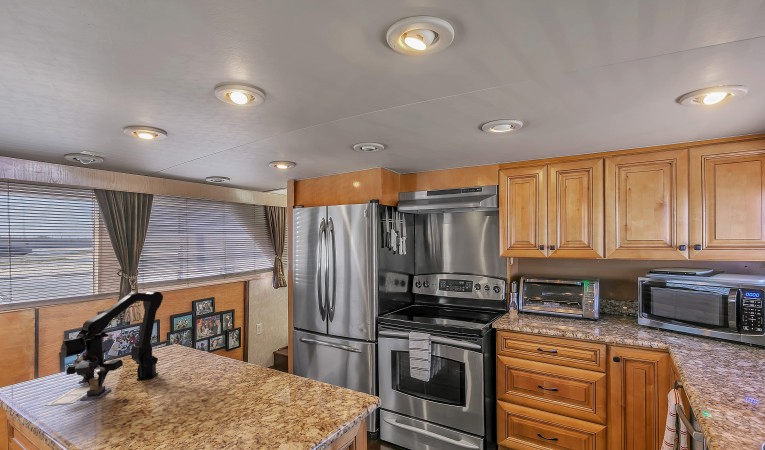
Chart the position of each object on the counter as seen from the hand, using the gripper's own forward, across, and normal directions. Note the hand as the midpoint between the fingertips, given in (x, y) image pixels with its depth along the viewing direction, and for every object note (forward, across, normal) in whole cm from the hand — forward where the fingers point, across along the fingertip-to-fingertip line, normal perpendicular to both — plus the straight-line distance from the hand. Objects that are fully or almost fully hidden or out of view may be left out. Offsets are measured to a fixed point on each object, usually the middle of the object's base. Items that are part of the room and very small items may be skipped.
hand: (96, 387), depth 151 cm
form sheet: (+3, -10, +2) cm, 11 cm away
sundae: (+4, -16, +18) cm, 24 cm away
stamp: (+2, 0, 0) cm, 2 cm away
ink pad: (+3, 0, 0) cm, 3 cm away
